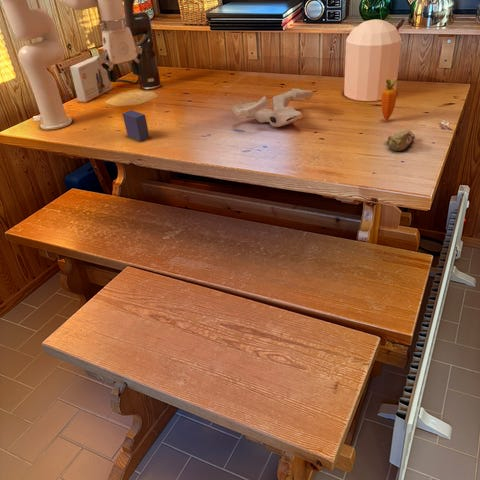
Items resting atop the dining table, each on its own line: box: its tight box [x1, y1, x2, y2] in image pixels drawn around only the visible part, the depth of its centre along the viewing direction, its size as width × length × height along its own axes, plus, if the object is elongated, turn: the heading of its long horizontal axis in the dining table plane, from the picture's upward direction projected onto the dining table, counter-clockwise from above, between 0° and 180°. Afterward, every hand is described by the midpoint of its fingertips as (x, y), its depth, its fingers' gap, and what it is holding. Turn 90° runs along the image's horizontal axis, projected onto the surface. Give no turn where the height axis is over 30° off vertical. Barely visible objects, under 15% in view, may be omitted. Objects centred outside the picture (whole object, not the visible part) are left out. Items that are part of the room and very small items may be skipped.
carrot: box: [380, 78, 398, 122], centre depth 161 cm, size 5×5×15 cm
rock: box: [387, 129, 416, 152], centre depth 146 cm, size 11×6×10 cm
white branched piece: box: [231, 88, 314, 128], centre depth 171 cm, size 28×26×12 cm
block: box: [121, 109, 150, 142], centre depth 170 cm, size 4×9×9 cm, turn 44°
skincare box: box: [69, 54, 113, 103], centre depth 218 cm, size 21×6×16 cm, turn 158°
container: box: [343, 18, 402, 102], centre depth 184 cm, size 21×21×28 cm
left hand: (124, 78), depth 161 cm, fingers open, 9 cm apart
